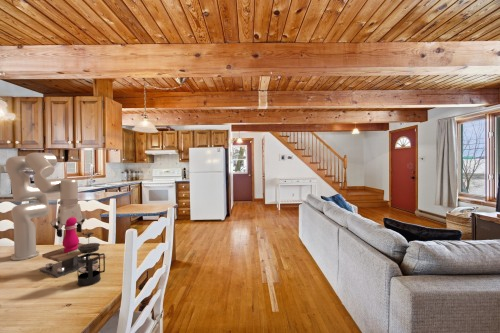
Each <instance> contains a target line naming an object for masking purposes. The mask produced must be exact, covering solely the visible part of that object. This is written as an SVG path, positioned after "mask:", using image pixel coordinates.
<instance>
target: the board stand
mask: <svg viewBox="0 0 500 333" xmlns="http://www.w3.org/2000/svg"><path fill="white" fill-rule="evenodd" d="M78 257H79V255H78V256H75V257H72V258H69V259H66V260H64V261H61V262H56V263H55V264H53V262H49V263H48V262H47V263H45V267H44V268H40V269H39V272H40V273H42V274H45V275H49V276H51V277H53V278H57V279H58V278H61V277H63V276H66V275H68V274H72V273H74V272H76V271H77V258H78ZM79 260H86V259H85V257H84V258H81V259H79ZM93 264H99V259H98V260H95V261H93ZM84 266H86V263H79V262H78V270H79V269H80V268H81V267H84ZM77 272H78V271H77Z"/></svg>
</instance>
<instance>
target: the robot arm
mask: <svg viewBox="0 0 500 333" xmlns="http://www.w3.org/2000/svg"><path fill="white" fill-rule="evenodd" d="M57 164H58V159H57V156H56V155H55V154H54V153H51V152H50V153H49V152H31V153H28V154H26V155H16V156H10V157H8V158H7V159H6V161H5V171H6V173H7V176H8V177H9V179H10V185H11V193H12V194H11V195H12V198H13V200H14V201H15V202H18V203H21V202H23V203H21V204H18V205H15V206H13V207H12V208H11V212H10V213H11V218H12V223H13V242H14V243H13V244H14V245H13V247H14V248H13V249H14V252H13V253H14V254H12V255H11V257H10V260H11V261H24V260H28V259H32V258H35V257H37V256H39V255H40V251H39V250H37V240H36V238H37V235H36V234H37V233H36V232H37V231H36V229H37V228H36V224H35V222H33V221H32V220H33V219H37V218H43V217H47V215H49V213H50V202H49V201H50V200H49V194H55V193H57V194H58V193H59V197H60V198H59V201H57V204H58V205H59V206H58V209H57V216H56V218H54V219H53V220H52V221H50V223H49V224H50V225H51V226H52V228H54V229H55V230H56V237H58V238H62V237H63V229H62V227H64V226H65V225H66V221H67V219H69V218H71V217H75V218H76V219H77V222H76V224H75V225H76V232H77V233H81V232H82V230H83V229H82V228H83V227H82V225H83V224H84V222H86V219H87V215H84V214H82V209H81V205H80V203H79V202H78V201H79V199H78V198H79V197H78V188H79V187H78V186H79V185H78V184H79V183H78V180H77V179H74V178H73V179H72V178H71V179H69V178H50V179H49V177H50V176H51V175H53V174H54V172H55V166H56V165H57ZM24 171H33V172H34V173H35V174H34V175H33V184H31V179H30V176H29V175H28V174H27V173H26V172H24ZM47 178H48V179H47ZM31 201H33V202H31ZM34 201H35V202H34ZM24 202H28V203H24ZM56 223H57V224H56Z"/></svg>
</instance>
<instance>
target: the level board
mask: <svg viewBox="0 0 500 333" xmlns="http://www.w3.org/2000/svg"><path fill="white" fill-rule="evenodd" d="M84 244H85V243H82V242H81V243H80V242H79V244H78V245H77V246H78V247H79V246H81V245H84ZM64 248H65V247H64V246H63V247H62V248H58V249H55V250H51V251H48V252H45V253H41V257H42V258H44V259H47V260H51V261H53V262H55V263H60V262H62V261H64V260H66V259H69V258H72V257H75V256H78V257H79V256H81V255H84V254H83V253H81V252H80V251H79V250H78V249H77V250H74V251H71V252H68V253H65V252H64Z"/></svg>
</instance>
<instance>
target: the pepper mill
mask: <svg viewBox="0 0 500 333" xmlns="http://www.w3.org/2000/svg"><path fill="white" fill-rule="evenodd" d="M76 222H77V219H76V218H75V217H71V218H69V219H67V221H66V225H64V226H63V228H64V231H65V234H64V237H63V239H62V243H61V245H62V247H63V248H64V247H65V248H64V252H65V253H68V252H71V251H74V250H77V247H78V246H77V245H78V244H79V243H80V238H79V237H78V235H77V233H76V229H77V227H76V225H77V223H76Z"/></svg>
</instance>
